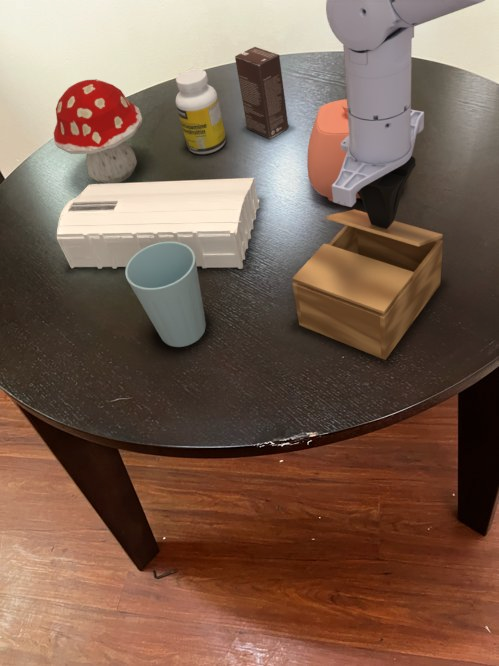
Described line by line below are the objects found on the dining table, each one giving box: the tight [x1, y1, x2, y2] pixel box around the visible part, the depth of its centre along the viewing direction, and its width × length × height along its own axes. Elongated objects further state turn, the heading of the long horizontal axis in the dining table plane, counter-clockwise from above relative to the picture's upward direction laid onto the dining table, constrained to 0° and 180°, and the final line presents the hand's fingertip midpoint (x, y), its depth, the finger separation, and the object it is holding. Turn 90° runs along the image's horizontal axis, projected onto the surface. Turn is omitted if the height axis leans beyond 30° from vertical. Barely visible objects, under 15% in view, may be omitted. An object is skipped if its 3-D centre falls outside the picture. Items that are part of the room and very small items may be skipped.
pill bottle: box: [175, 68, 227, 155], centre depth 100 cm, size 6×6×12 cm
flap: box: [325, 209, 444, 247], centre depth 70 cm, size 6×11×1 cm, turn 53°
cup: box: [124, 241, 207, 348], centre depth 73 cm, size 8×8×10 cm
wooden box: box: [291, 225, 444, 361], centre depth 72 cm, size 13×11×7 cm
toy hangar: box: [56, 177, 260, 270], centre depth 88 cm, size 25×15×7 cm, turn 80°
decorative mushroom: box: [53, 78, 143, 184], centre depth 98 cm, size 14×14×15 cm
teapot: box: [306, 98, 361, 202], centre depth 87 cm, size 13×20×12 cm, turn 174°
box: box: [234, 46, 289, 140], centre depth 101 cm, size 6×4×12 cm
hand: (382, 222), depth 69 cm, fingers closed
